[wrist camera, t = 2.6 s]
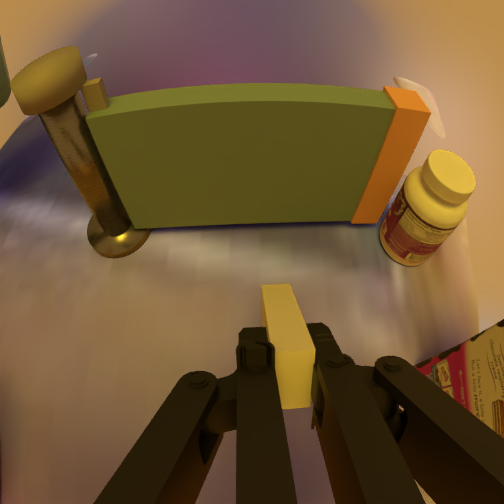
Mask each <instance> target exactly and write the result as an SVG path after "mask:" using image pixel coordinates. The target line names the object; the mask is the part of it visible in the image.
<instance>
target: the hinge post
mask: <svg viewBox="0 0 504 504" xmlns="http://www.w3.org/2000/svg"><path fill="white" fill-rule="evenodd" d="M38 115H39V117H40V119H41V121H42V123H43V125H44V127H45V129H46V131H47V133H48V135H49V137H50V139H51V141H52V143H53V145H54V147H55V148H56V150H57V152H58V154H59V156H60V158H61V160H62V162H63V163H64V165H65V167H66V169H67V171H68V172H69V174H70V176H71V178H72V180H73V181H74V183H75V185H76V186H77V188H78V190H79V192H80V193H81V195H82V197H83V198H84V200H85V202H86V203H87V205H88V207H89V208H90V210H91V212H92V213H93V216H92V217H91V219H90V221H89V224H88V228H87V236H88V240H89V242H90V244H91V245H92V247H93V248H94V249H95V250H96V252H97V253H99V254H100V255H102V256H104V257H108V258H120V257H124V256H127V255H129V254H131V253H133V252H134V251H136V250H137V249H139V248H140V247H141V246H142V245H143V244H144V242H145V241H146V240H147V238H148V236H149V234H150V232H151V228H143V229H135V227H134V225H133V223H132V221H131V219H130V217H129V215H128V213H127V211H126V209H125V207H124V205H123V203H122V201H121V199H120V197H119V194H118V192H117V190H116V188H115V186H114V184H113V182H112V180H111V177H110V175H109V173H108V171H107V169H106V166H105V164H104V162H103V160H102V157H101V155H100V153H99V150H98V148H97V146H96V143H95V141H94V139H93V136H92V134H91V132H90V129H89V127H88V124H87V122H86V117H87V114H86V111H85V108H84V106H83V103H82V101H81V98H80V95H79V92H78V91H77V92H76V93H75V94H74V95H73V96H71V97H70V98H69V99H67V100H66V101H64V102H62V103H61V104H59V105H57V106H56V107H54V108H52V109H49V110H47V111H45V112H42V113H39V114H38Z"/></svg>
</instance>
